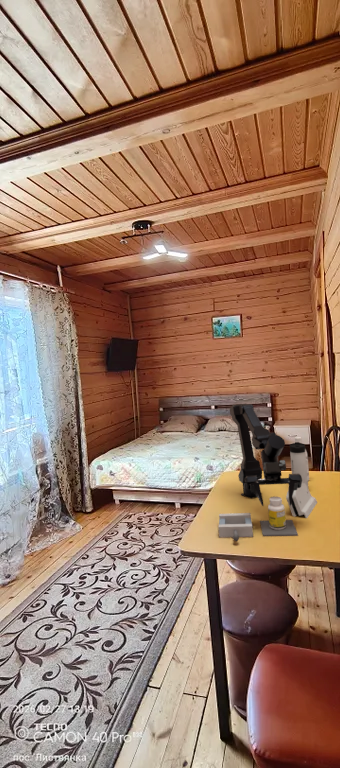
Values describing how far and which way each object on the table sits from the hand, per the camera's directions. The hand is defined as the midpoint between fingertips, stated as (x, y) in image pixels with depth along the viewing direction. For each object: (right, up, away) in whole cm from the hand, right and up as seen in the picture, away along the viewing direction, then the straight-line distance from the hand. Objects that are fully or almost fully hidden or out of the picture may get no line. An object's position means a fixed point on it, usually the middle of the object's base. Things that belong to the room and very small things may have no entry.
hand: (276, 505), depth 125 cm
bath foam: (+25, -4, +49) cm, 55 cm away
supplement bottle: (+1, -8, +2) cm, 8 cm away
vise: (-13, -10, +1) cm, 17 cm away
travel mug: (+21, -5, +37) cm, 43 cm away
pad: (+1, -8, +2) cm, 9 cm away
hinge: (+14, -7, +17) cm, 23 cm away
